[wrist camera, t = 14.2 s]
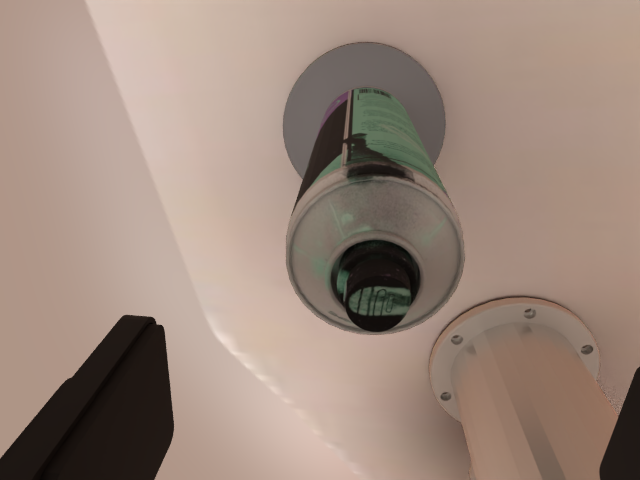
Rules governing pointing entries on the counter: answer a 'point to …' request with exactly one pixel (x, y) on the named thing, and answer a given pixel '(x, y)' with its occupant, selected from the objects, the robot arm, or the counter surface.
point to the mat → (354, 71)
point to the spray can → (372, 221)
